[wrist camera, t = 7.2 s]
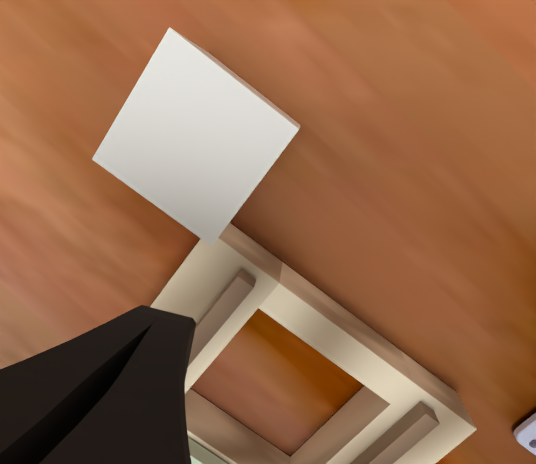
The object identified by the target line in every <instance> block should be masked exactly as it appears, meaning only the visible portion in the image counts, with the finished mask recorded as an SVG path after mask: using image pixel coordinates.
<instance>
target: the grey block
mask: <svg viewBox="0 0 536 464" xmlns="http://www.w3.org/2000/svg"><path fill="white" fill-rule="evenodd" d="M300 126H301V125H300V124H299V123H297V122H296V121H295V120H293V119H292V118H291V117H290V116H288V115H287V114H286V113H285V112H283V111H282V110H281V109H280V108H278V107H277V106H276V105H274V104H273V103H272V102H271V101H269V100H268V99H267V98H266V97H264V96H263V95H262V94H261V93H259V92H258V91H257V90H255V89H254V88H253V87H252V86H250V85H249V84H248V83H247V82H245V81H244V80H243V79H241V78H240V77H239V76H238V75H236V74H235V73H234V72H233V71H231V70H230V69H229V68H228V67H226V66H225V65H224V64H222V63H221V62H220V61H219V60H217V59H216V58H215V57H214V56H212V55H211V54H210V53H208V52H207V51H206V50H204V49H202V48H201V47H199V46H198V45H196V44H195V43H193V42H192V41H190V40H189V39H187V38H185V37H184V36H182V35H181V34H179V33H178V32H176V31H175V30H173V29H172V28H170V27H169V29H168V31H167V32H166V34H165V36H164V37H163V39H162V41H161V43H160V44H159V46H158V48H157V49H156V51H155V53H154V54H153V56H152V58H151V60H150V61H149V63H148V65H147V66H146V68H145V70H144V71H143V73H142V75H141V77H140V78H139V80H138V82H137V83H136V85H135V87H134V88H133V90H132V92H131V94H130V95H129V97H128V99H127V100H126V102H125V104H124V105H123V107H122V109H121V111H120V112H119V114H118V116H117V117H116V119H115V121H114V123H113V124H112V126H111V128H110V129H109V131H108V133H107V134H106V136H105V138H104V140H103V141H102V143H101V145H100V146H99V148H98V150H97V151H96V153H95V155H94V157H93V158H92V160H94V161H95V162H96V163H98V164H99V165H100V166H102V167H103V168H105V169H106V170H107V171H109V172H110V173H111V174H113V175H114V176H116V177H117V178H118V179H120V180H121V181H122V182H124V183H125V184H126V185H128V186H129V187H131V188H132V189H133V190H135V191H136V192H137V193H139V194H140V195H142V196H143V197H144V198H146V199H147V200H148V201H150V202H151V203H153V204H154V205H155V206H157V207H158V208H159V209H161V210H162V211H164V212H165V213H166V214H168V215H169V216H170V217H172V218H173V219H175V220H176V221H177V222H179V223H180V224H181V225H183V226H184V227H186V228H187V229H188V230H190V231H191V232H192V233H194V234H195V235H197V236H198V237H199V238H201V239H202V240H203V241H205V242H206V243H208V244H209V245H210V246H212V245H213V244H214V242H215V241H216V240H217V238H218V237H219V236H220V234H221V233H222V232H223V230H224V229H225V228H226V226H227V225H228V224H229V222H230V221H231V220H232V218H233V217H234V216H235V214H236V213H237V212H238V210H239V209H240V208H241V206H242V205H243V204H244V202H245V201H246V200H247V198H248V197H249V196H250V194H251V193H252V192H253V190H254V189H255V188H256V186H257V185H258V184H259V182H260V181H261V180H262V178H263V177H264V176H265V174H266V173H267V172H268V170H269V169H270V168H271V166H272V165H273V164H274V162H275V161H276V160H277V158H278V157H279V156H280V154H281V153H282V152H283V150H284V149H285V148H286V146H287V145H288V144H289V142H290V141H291V140H292V138H293V137H294V136H295V134H296V133H297V132H298V130H299V129H300Z"/></svg>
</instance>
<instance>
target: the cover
mask: <svg viewBox="0 0 536 464" xmlns="http://www.w3.org/2000/svg"><path fill="white" fill-rule="evenodd" d="M188 442H189V450H190V456H191V463H192V464H227V463H226V462H224V461H223V460H221V459H220V458H218V457H217V456H215V455H214V454H212V453H211V452H209V451H208V450H206V449H205V448H203V447H202V446H200V445H199V444H197V443H196V442H194V441H193V440H191V439H190V438H188Z"/></svg>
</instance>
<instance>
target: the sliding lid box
mask: <svg viewBox="0 0 536 464" xmlns="http://www.w3.org/2000/svg"><path fill="white" fill-rule="evenodd" d="M150 307H151V308H155V309H159V310H163V311H167V312H171V313H175V314H179V315H183V316H188V317H192V318H193V319H194V321H195V322H196V328H195V333H194V338H193V343H192V348H191V353H190V358H189V363H188V368H187V373H186V378H185V411H186V424H187V434H188V438H190V439H191V440H193V441H194V442H196V443H197V444H199V445H200V446H202V447H203V448H205V449H206V450H208V451H209V452H211V453H212V454H214V455H215V456H217V457H218V458H220V459H221V460H223V461H224V462H226V463H227V464H435V463H437V462H438V461H439V460H440V459H441V458H443V457H444V456H445V455H446V454H448V453H449V452H450V451H451V450H452V449H454V448H455V447H456V446H457V445H459V444H460V443H461V442H462V441H463V440H465V439H466V438H467V437H468V436H470V435H471V434H472V433H473V432H474V431H476V430H477V429H476V427H475V425H474V423H473V421H472V419H471V418H470V416H469V414H468V412H467V410H466V409H465V407H464V405H463V403H462V401H461V399H460V398H459V396H458V394H457V392H455V391H454V390H453V389H451V388H450V387H449V386H447V385H446V384H445V383H443V382H442V381H441V380H439V379H438V378H437V377H435V376H434V375H433V374H431V373H430V372H429V371H427V370H426V369H425V368H423V367H422V366H421V365H419V364H418V363H417V362H415V361H414V360H413V359H411V358H410V357H409V356H407V355H406V354H405V353H403V352H402V351H401V350H399V349H398V348H397V347H395V346H394V345H393V344H391V343H390V342H389V341H387V340H386V339H385V338H383V337H382V336H381V335H379V334H378V333H377V332H375V331H374V330H373V329H371V328H370V327H369V326H367V325H366V324H365V323H363V322H362V321H361V320H359V319H358V318H357V317H355V316H354V315H353V314H351V313H350V312H349V311H347V310H346V309H345V308H343V307H342V306H341V305H339V304H338V303H337V302H335V301H334V300H333V299H331V298H330V297H329V296H327V295H326V294H325V293H323V292H322V291H320V290H319V289H318V288H316V287H315V286H314V285H312V284H311V283H310V282H308V281H307V280H306V279H304V278H303V277H302V276H300V275H299V274H298V273H296V272H295V271H294V270H292V269H291V268H290V267H288V266H287V265H286V264H284V263H283V262H282V261H280V260H279V259H278V258H276V257H275V256H274V255H272V254H271V253H270V252H268V251H267V250H266V249H264V248H263V247H262V246H260V245H259V244H258V243H256V242H255V241H254V240H252V239H251V238H250V237H248V236H247V235H246V234H244V233H243V232H242V231H240V230H239V229H238V228H236V227H235V226H234V225H232V224H231V223H230V222H229V224H228V225H227V226H226V228H225V229H224V230H223V232H222V233H221V234H220V236H219V237H218V238H217V240H216V241H215V242H214V244H213V245H212V246H210V245H209V244H208V243H206V242H205V241H203V240H202V239H200V240H199V242H198V243H197V244H196V246H195V247H194V248H193V250H192V251H191V252H190V254H189V255H188V256H187V258H186V259H185V260H184V262H183V263H182V265H181V266H180V267H179V269H178V270H177V271H176V273H175V274H174V275H173V277H172V278H171V279H170V281H169V282H168V283H167V285H166V286H165V287H164V289H163V290H162V291H161V293H160V294H159V295H158V297H157V298H156V299H155V301H154V302H153V303H152V305H151V306H150ZM258 308H259V309H260V310H262V311H263V312H265V313H266V314H267V315H269V316H270V317H271V318H273V319H274V320H276V321H277V322H278V323H280V324H281V325H282V326H284V327H285V328H287V329H288V330H289V331H291V332H292V333H293V334H295V335H296V336H298V337H299V338H300V339H302V340H303V341H304V342H306V343H307V344H309V345H310V346H311V347H313V348H314V349H315V350H317V351H318V352H320V353H321V354H322V355H324V356H325V357H326V358H328V359H329V360H331V361H332V362H333V363H335V364H336V365H337V366H339V367H340V368H342V369H343V370H344V371H346V372H347V373H348V374H350V375H351V376H353V377H354V378H355V379H357V380H358V381H359V382H361V383H362V384H364V385H365V386H364V387H362V388H361V389H360V390H359V391H358V392H357V393H356V394H355V395H354V396H353V397H352V398H351V399H350V400H349V401H348V402H347V403H346V404H345V405H344V406H343V407H342V408H341V409H340V410H339V411H338V412H336V413H335V414H334V415H333V416H332V417H331V418H330V419H329V420H328V421H327V422H326V423H325V424H324V425H323V426H322V427H321V428H320V429H319V430H318V431H317V432H316V433H315V434H314V435H313V436H311V437H310V438H309V439H308V440H307V441H306V442H305V443H304V444H303V445H302V446H301V447H300V448H299V449H298V450H297V451H296V452H295V453H294V454H293V455H292V456H291V457H289V456H288V455H286V454H285V453H283V452H282V451H281V450H279V449H278V448H276V447H275V446H273V445H272V444H270V443H269V442H267V441H266V440H265V439H263V438H262V437H260V436H259V435H257V434H256V433H254V432H253V431H251V430H250V429H248V428H247V427H246V426H244V425H243V424H241V423H240V422H238V421H237V420H235V419H234V418H232V417H231V416H230V415H228V414H227V413H225V412H224V411H222V410H221V409H219V408H218V407H216V406H215V405H213V404H212V403H211V402H209V401H208V400H206V399H205V398H203V397H202V396H200V395H199V394H197V393H196V392H195V391H193V390H192V389H190V387H191V386H192V385H193V384H194V383H195V381H196V380H197V379H198V378H199V377H200V376H201V374H202V373H203V372H204V371H205V370H206V369H207V367H208V366H209V365H210V364H211V363H212V362H213V360H214V359H215V358H216V357H217V356H218V355H219V353H220V352H221V351H222V350H223V349H224V348H225V346H226V345H227V344H228V343H229V342H230V340H231V339H232V338H233V337H234V336H235V335H236V333H237V332H238V331H239V330H240V329H241V328H242V326H243V325H244V324H245V323H246V322H247V321H248V319H249V318H250V317H251V316H252V315H253V314H254V312H255V311H256V310H257V309H258Z"/></svg>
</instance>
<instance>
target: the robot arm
mask: <svg viewBox="0 0 536 464" xmlns="http://www.w3.org/2000/svg"><path fill="white" fill-rule="evenodd" d="M195 328H196V322H195V321H194V319H193V318H192V317H188V316H183V315H179V314H175V313H171V312H167V311H163V310H159V309H155V308H151V307H147V306H143V305H141V306H139V307H137V308H134V309H132V310H130V311H128V312H126V313H124V314H122V315H120V316H118V317H116V318H115V319H113V320H111V321H109V322H107V323H105V324H103V325H101V326H99V327H96V328H94V329H92V330H90V331H88V332H86V333H84V334H82V335H80V336H78V337H76V338H74V339H72V340H70V341H67V342H65V343H63V344H60V345H58V346H56V347H53V348H51V349H49V350H46V351H44V352H42V353H39V354H37V355H35V356H33V357H30V358H28V359H26V360H23V361H21V362H18V363H16V364H13V365H11V366H8V367H5V368H3V369H0V464H192V463H191V456H190V450H189V442H188V434H187V424H186V411H185V378H186V373H187V368H188V363H189V358H190V353H191V348H192V343H193V338H194V333H195ZM513 434H514V437H515V439H516V440H517V441H518V443H519V444H521V445H522V446H523V447H525V448H526V449H527V450H529V451H530V452H531V453H533V454H534V455H535V456H536V413H535V414H533V415H532V416H531V417H529V418H528V419H527V420H526V421H524V422H523V423H522V424H521V425H519V426H518V427H517V428H516V429H515V430H514V433H513ZM531 440H534V441H532V442H530V441H531Z"/></svg>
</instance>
